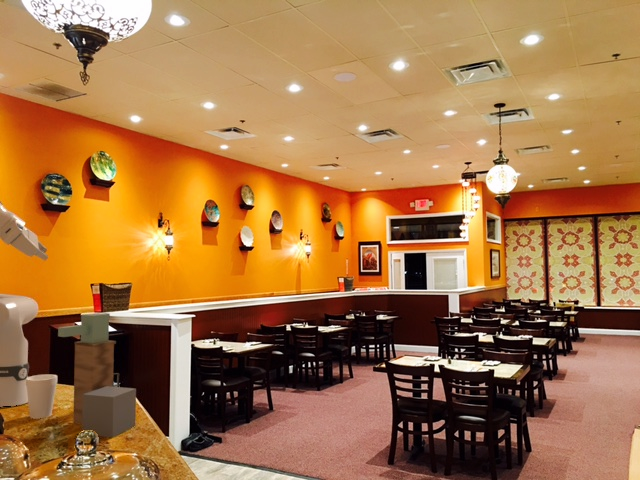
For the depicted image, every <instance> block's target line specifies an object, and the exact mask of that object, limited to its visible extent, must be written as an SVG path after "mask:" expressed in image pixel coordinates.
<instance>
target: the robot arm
mask: <svg viewBox="0 0 640 480" xmlns="http://www.w3.org/2000/svg"><path fill="white" fill-rule="evenodd" d="M25 225H26V222H25V220H23V219H22V218H21V217H19V216H18V215H17V214H15V213H14V212H12V211H10V210H8V209H7V208H6V207H5V206H4V205H3V203H2V201H0V239H1V240H2V242H3V243H4V244H5V245H8V246H9V245H11V247H13V248H14V249H16V250H18V251H19V252H21V253H23V254H24V255H26V256H28V257H31V258H32V257H33V256H35V257H38V258H40V259H41V260H43V261H47V260H48V259H49V255H48V254H47V253H46V252H47V251H48V249H47V247H46V246H44V245H43V244H42V243H41V241H39V239H38V238H39V237H38V235H37V234H36V233H35V232H33V231H31V230H30V228H28V227H26V226H25ZM39 309H40V308H39V305H38V303H37V301H36V300H35V299H33V298H32V297H28V296H25V295H24V296H23V295H16V294H15V295H14V294H5V293H0V407H1V408H3V407H2V406H11V407H15V406H16V405H17V406H21V405H24V404H27V403H28V394H27V387H26V378H28V377H29V376H28V374H29V372H30V371H29V370H30V363H29V362H28V355H29V352H28V351H29V341H28V339H27V338H26V337H25V336H24V332H23V325H25V324H28V323H29V322H31V321H33V320H34V319H35V318H36V317H37V316H38V313H39ZM28 404H29V403H28Z"/></svg>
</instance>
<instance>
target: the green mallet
mask: <svg viewBox="0 0 640 480" xmlns="http://www.w3.org/2000/svg"><path fill="white" fill-rule="evenodd" d="M110 315H111V313H108V312H103V313H99V312H97V313H86V314H85V313H84V314H81V316H80V317H81V318H80V319H81V321H80V324H77V325H67V326H59V327H57V328H58V329H57V330H58V331H57V337H61V338H68V337H74V336H80V341H81V342H83V343H90V344H94V343H101V342H108V340H109V336H110V335H109V333H110V329H109V328H110Z"/></svg>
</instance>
